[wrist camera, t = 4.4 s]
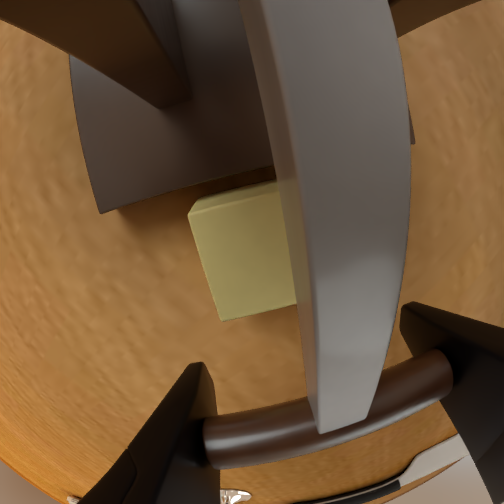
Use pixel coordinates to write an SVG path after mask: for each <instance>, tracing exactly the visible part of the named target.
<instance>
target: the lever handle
mask: <svg viewBox="0 0 504 504" xmlns="http://www.w3.org/2000/svg"><path fill="white" fill-rule="evenodd" d="M238 4H239V7H240V11H241V15H242V19H243V23H244V27H245V31H246V35H247V39H248V43H249V47H250V52H251V56H252V60H253V65H254V69H255V73H256V78H257V82H258V87H259V91H260V96H261V101H262V106H263V110H264V115H265V120H266V125H267V130H268V135H269V140H270V145H271V150H272V155H273V161H274V166H275V172H276V177H277V183H278V188H279V194H280V200H281V205H282V211H283V217H284V223H285V229H286V236H287V242H288V248H289V255H290V261H291V268H292V275H293V282H294V289H295V296H296V303H297V311H298V318H299V326H300V334H301V342H302V350H303V359H304V368H305V377H306V386H307V396H306V397H303V398H299V399H295V400H292V401H288V402H284V403H279V404H275V405H271V406H266V407H262V408H257V409H252V410H247V411H241V412H236V413H230V414H224V415H217V416H210V417H207V418H205V419H204V421H203V426H202V438H203V445H204V449H205V453H206V456H207V458H208V460H209V462H210V464H211V466H212V467H213V468H214V469H217V470H223V469H232V468H240V467H247V466H254V465H260V464H265V463H271V462H276V461H280V460H285V459H290V458H294V457H298V456H302V455H306V454H310V453H313V452H317V451H320V450H324V449H327V448H330V447H334V446H337V445H340V444H343V443H346V442H349V441H351V440H354V439H357V438H360V437H362V436H365V435H367V434H370V433H372V432H375V431H377V430H380V429H382V428H384V427H387V426H389V425H391V424H394V423H396V422H398V421H400V420H402V419H404V418H406V417H408V416H410V415H412V414H414V413H416V412H418V411H420V410H422V409H424V408H426V407H428V406H430V405H431V404H433V403H435V402H437V401H438V400H440V399H442V398H444V397H445V396H447V395H448V394H449V393H450V391H451V390H452V387H453V372H452V368H451V365H450V363H449V361H448V359H447V357H446V356H445V355H444V354H443V353H442V352H441V351H440V350H438V349H429V350H427V351H425V352H423V353H421V354H419V355H417V356H415V357H412V358H410V359H408V360H406V361H404V362H401V363H399V364H397V365H395V366H392V367H390V368H387V369H385V370H383V371H382V369H383V366H384V362H385V359H386V355H387V351H388V347H389V343H390V339H391V335H392V331H393V327H394V322H395V317H396V313H397V308H398V302H399V297H400V291H401V285H402V279H403V273H404V266H405V258H406V250H407V240H408V229H409V216H410V198H411V142H410V124H409V111H408V101H407V92H406V85H405V77H404V71H403V65H402V59H401V54H400V49H399V44H398V39H397V35H396V30H395V26H394V22H393V18H392V14H391V11H390V7H389V4H388V1H387V0H238Z"/></svg>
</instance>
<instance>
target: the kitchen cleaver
mask: <svg viewBox="0 0 504 504" xmlns="http://www.w3.org/2000/svg"><path fill="white" fill-rule="evenodd" d="M467 455H470V453H469V451H468V450H467V448H466V446H465V444H464V442H463V440H462V438H461V437H460V435H459V433H458V434H456V435H455V436H453V437H451V438H449V439H447V440H445V441H443V442H441V443H439V444H437V445H435V446H433V447H431V448H429V449H427V450H425V451H423V452H421V453H420V454H418V455H417V456H416V457H415V458H414V460H413V461H412V463H411V464H410V466H409V467H408V469H407V470H406V471H405V472H404V473H403V474H402V475H401V476H399V477H398V478H397V477H396V476H395V477H393V478H391V479H389V480H387V481H384V482H382V483H379V484H377V485H374V486H371V487H368V488H365V489H362V490H358V491H355V492H351V493H348V494H344V495H340V496H336V497H332V498H327V499H322V500H317V501H312V502H304V503H295V504H363V503H366V502H369V501H372V500H375V499H377V498H380V497H383V496H385V495H388V494H390V493H393V492H395V491H397V490H399V489H400V488H401V486H403V485H406V484H408V483H410V482H413V481H415V480H417V479H419V478H421V477H424V476H426V475H428V474H430V473H432V472H434V471H436V470H438V469H440V468H442V467H444V466H446V465H448V464H450V463H452V462H455V461H457V460H459V459H461V458H463V457H465V456H467Z"/></svg>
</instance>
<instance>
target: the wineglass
mask: <svg viewBox="0 0 504 504" xmlns="http://www.w3.org/2000/svg"><path fill="white" fill-rule="evenodd" d="M220 497H221V504H237V503H242V502H245V501H248V500H249V499H251V497H252V495H251V494H250V493H248V492H245V491H241V490H232V489H220Z"/></svg>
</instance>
